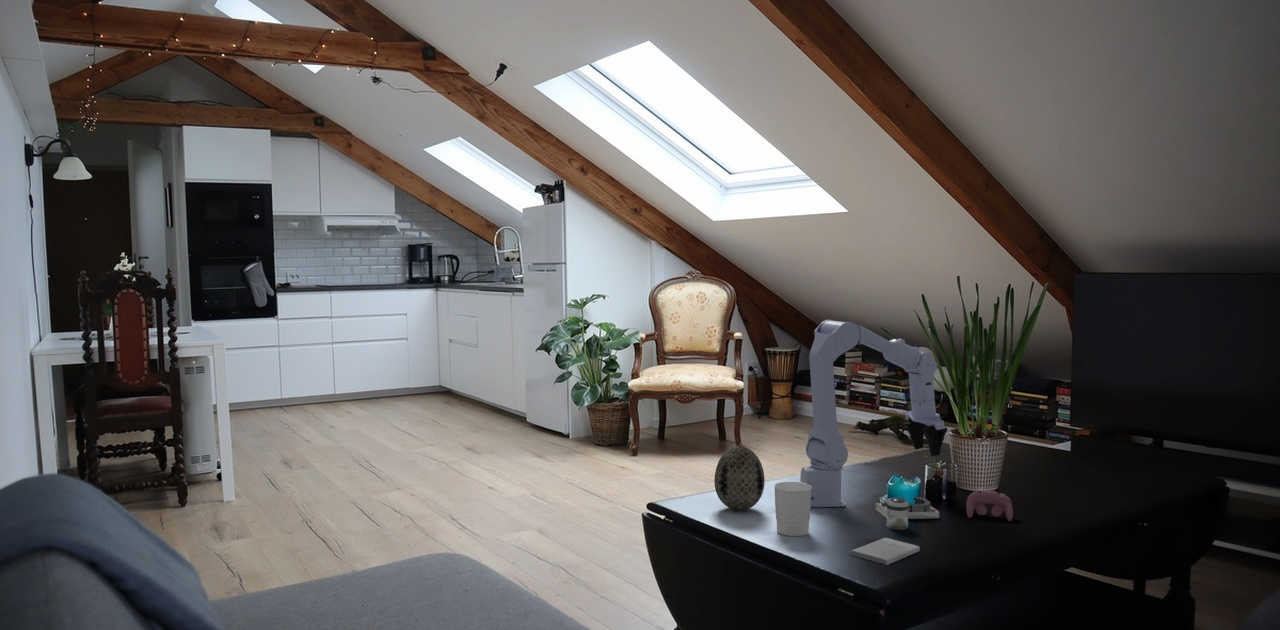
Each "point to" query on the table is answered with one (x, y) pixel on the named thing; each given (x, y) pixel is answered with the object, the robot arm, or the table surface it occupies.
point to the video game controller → (989, 497)
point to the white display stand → (913, 509)
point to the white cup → (793, 508)
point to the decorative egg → (739, 478)
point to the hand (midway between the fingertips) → (927, 451)
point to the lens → (897, 513)
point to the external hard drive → (885, 551)
